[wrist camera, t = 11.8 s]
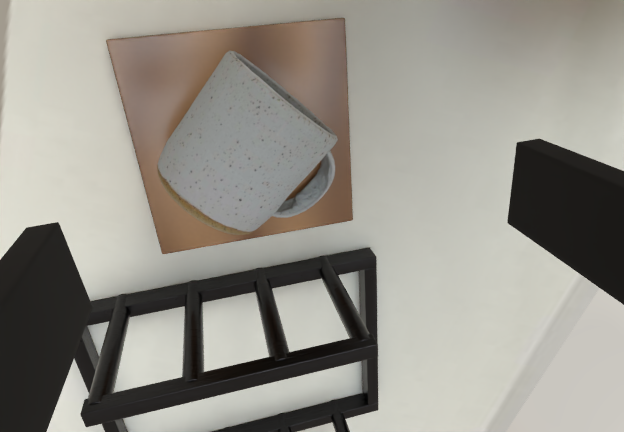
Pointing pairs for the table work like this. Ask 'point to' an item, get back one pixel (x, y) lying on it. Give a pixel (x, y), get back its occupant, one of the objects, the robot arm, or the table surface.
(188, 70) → the copper coaster
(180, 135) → the ceramic mug
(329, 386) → the table surface
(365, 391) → the dish rack
